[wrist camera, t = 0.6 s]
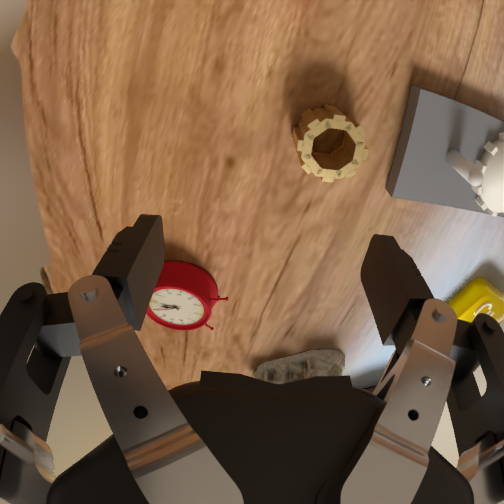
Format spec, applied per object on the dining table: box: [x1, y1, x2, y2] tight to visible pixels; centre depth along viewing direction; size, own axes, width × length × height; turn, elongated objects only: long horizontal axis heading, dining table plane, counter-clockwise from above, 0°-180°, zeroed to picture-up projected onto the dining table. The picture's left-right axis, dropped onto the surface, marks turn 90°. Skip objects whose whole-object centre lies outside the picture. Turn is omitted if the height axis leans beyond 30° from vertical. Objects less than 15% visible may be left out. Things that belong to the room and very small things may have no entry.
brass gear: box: [292, 104, 369, 182], centre depth 26 cm, size 6×6×4 cm
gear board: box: [386, 85, 504, 217], centre depth 25 cm, size 12×24×7 cm, turn 86°
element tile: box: [448, 277, 504, 324], centre depth 44 cm, size 15×15×5 cm
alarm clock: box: [146, 261, 228, 330], centre depth 39 cm, size 10×6×15 cm
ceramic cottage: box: [254, 349, 345, 384], centre depth 51 cm, size 16×16×15 cm
